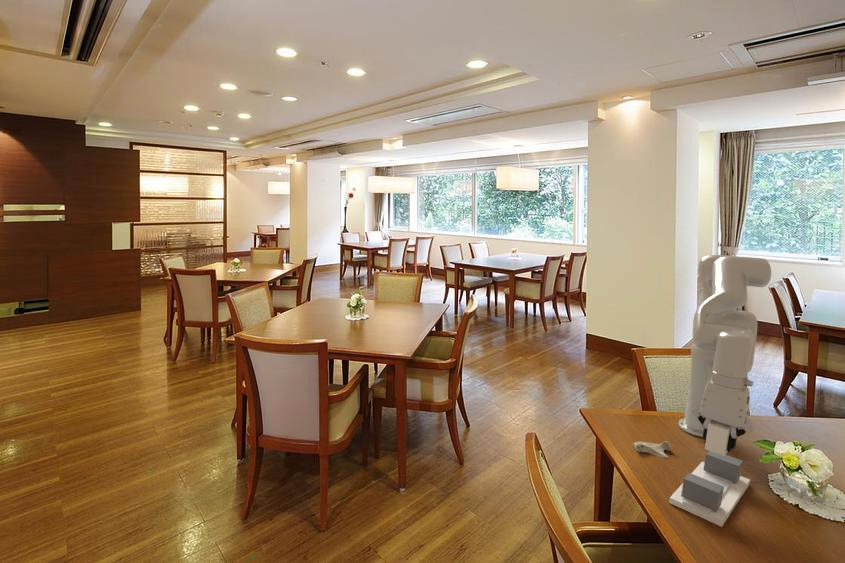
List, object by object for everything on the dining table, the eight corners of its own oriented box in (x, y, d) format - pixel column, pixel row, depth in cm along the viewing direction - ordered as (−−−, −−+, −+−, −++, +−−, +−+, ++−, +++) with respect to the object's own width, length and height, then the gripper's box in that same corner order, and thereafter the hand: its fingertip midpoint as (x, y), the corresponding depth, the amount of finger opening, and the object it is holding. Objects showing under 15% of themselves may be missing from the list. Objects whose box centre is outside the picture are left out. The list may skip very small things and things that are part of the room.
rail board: (701, 466, 141) (704, 444, 140) (749, 484, 132) (753, 461, 131) (669, 502, 123) (672, 478, 122) (721, 526, 115) (726, 500, 113)
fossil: (673, 460, 144) (675, 450, 143) (634, 453, 147) (636, 443, 147) (670, 449, 150) (671, 439, 150) (632, 443, 154) (634, 433, 153)
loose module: (711, 441, 129) (715, 417, 128) (730, 448, 126) (734, 423, 124) (704, 449, 125) (708, 424, 123) (724, 456, 122) (728, 430, 120)
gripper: (771, 386, 119) (760, 454, 122) (697, 367, 130) (688, 429, 134) (764, 394, 113) (752, 464, 117) (687, 373, 125) (678, 438, 128)
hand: (718, 445), depth 125 cm, fingers closed on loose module, 4 cm apart
